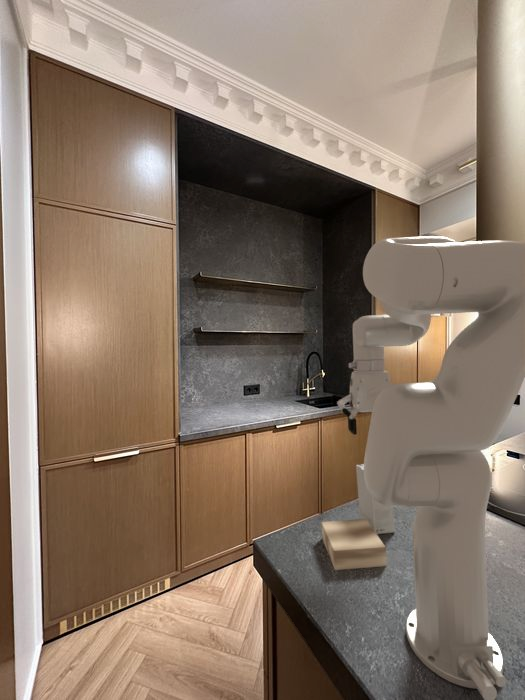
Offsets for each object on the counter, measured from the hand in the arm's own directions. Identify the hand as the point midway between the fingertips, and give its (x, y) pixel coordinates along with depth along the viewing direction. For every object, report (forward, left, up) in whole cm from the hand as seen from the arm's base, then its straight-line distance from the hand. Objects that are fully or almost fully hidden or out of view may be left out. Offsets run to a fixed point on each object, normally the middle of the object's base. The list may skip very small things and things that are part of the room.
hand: (371, 432), depth 81 cm
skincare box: (0, 0, -24) cm, 24 cm away
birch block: (-10, +10, -24) cm, 28 cm away
